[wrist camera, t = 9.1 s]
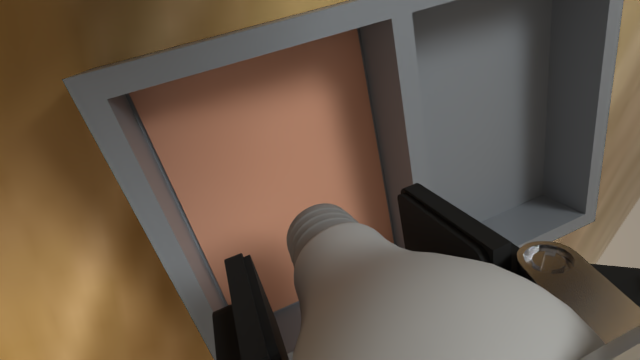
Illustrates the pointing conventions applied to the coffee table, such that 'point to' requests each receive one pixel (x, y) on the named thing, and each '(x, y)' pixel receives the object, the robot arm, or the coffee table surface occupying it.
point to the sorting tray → (355, 130)
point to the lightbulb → (417, 301)
